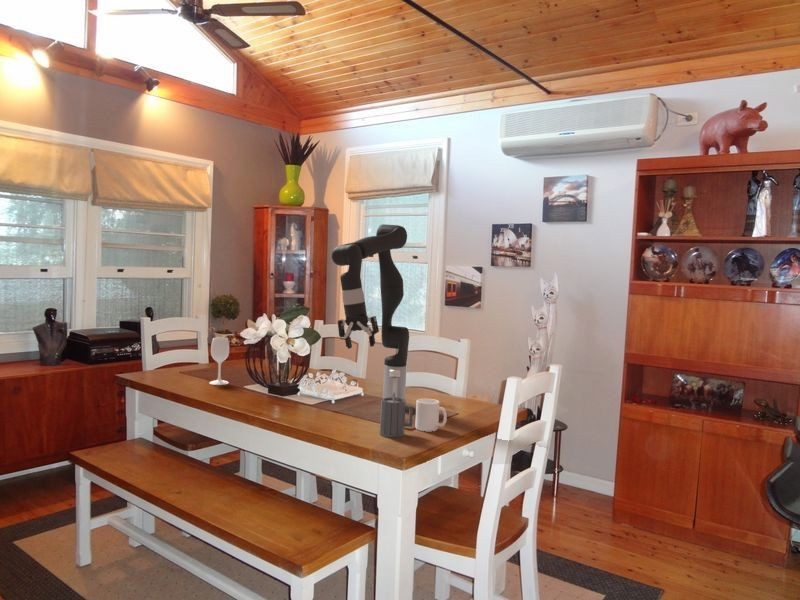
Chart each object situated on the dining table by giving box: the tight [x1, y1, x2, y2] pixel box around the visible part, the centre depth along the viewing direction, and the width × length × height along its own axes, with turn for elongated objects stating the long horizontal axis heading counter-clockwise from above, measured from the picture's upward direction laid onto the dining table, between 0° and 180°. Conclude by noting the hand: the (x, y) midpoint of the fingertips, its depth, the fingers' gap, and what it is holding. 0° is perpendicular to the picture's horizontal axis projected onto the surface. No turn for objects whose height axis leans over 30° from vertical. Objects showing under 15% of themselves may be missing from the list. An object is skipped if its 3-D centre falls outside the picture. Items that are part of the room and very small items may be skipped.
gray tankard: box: [379, 397, 414, 439], centre depth 203 cm, size 8×11×12 cm
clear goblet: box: [387, 369, 401, 402], centre depth 202 cm, size 5×5×12 cm
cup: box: [414, 398, 448, 433], centre depth 211 cm, size 8×12×10 cm
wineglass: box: [209, 336, 230, 386], centre depth 271 cm, size 9×9×21 cm
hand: (361, 347), depth 206 cm, fingers open, 8 cm apart
